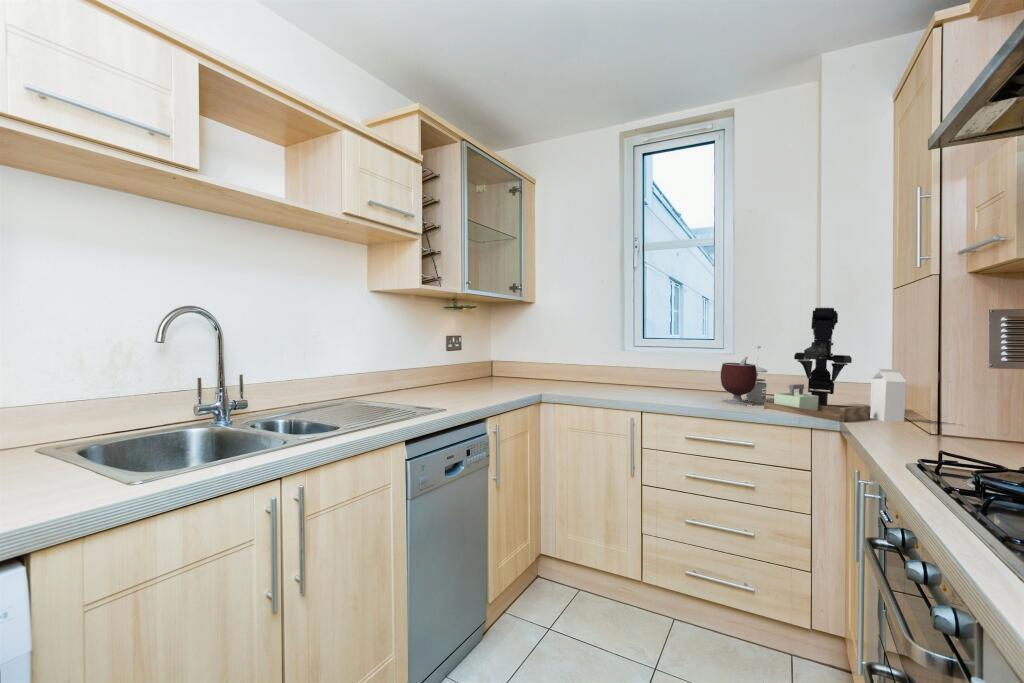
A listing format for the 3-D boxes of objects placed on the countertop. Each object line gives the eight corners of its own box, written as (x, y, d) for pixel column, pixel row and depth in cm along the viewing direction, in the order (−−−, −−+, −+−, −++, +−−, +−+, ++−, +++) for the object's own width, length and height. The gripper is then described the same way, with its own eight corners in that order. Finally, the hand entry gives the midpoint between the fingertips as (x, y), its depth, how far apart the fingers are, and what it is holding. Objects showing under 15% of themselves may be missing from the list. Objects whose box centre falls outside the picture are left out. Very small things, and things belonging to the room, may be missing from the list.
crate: (792, 407, 193) (793, 382, 193) (817, 411, 185) (818, 385, 184) (773, 408, 188) (774, 383, 188) (798, 413, 179) (800, 386, 179)
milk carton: (904, 424, 167) (907, 370, 167) (883, 423, 168) (886, 369, 167) (888, 420, 175) (891, 368, 174) (869, 419, 175) (871, 367, 174)
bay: (789, 407, 197) (790, 394, 197) (869, 421, 171) (870, 406, 170) (763, 409, 189) (764, 396, 189) (843, 424, 163) (844, 408, 163)
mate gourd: (747, 407, 194) (750, 358, 193) (713, 402, 204) (716, 356, 203) (761, 403, 205) (763, 357, 204) (728, 399, 215) (730, 355, 214)
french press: (744, 401, 211) (747, 345, 210) (742, 397, 222) (744, 344, 221) (769, 403, 207) (772, 346, 206) (765, 399, 218) (768, 345, 217)
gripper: (786, 338, 190) (784, 377, 190) (836, 340, 173) (834, 383, 174) (803, 339, 195) (801, 376, 195) (853, 341, 178) (851, 382, 179)
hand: (820, 379), depth 186 cm, fingers open, 9 cm apart
